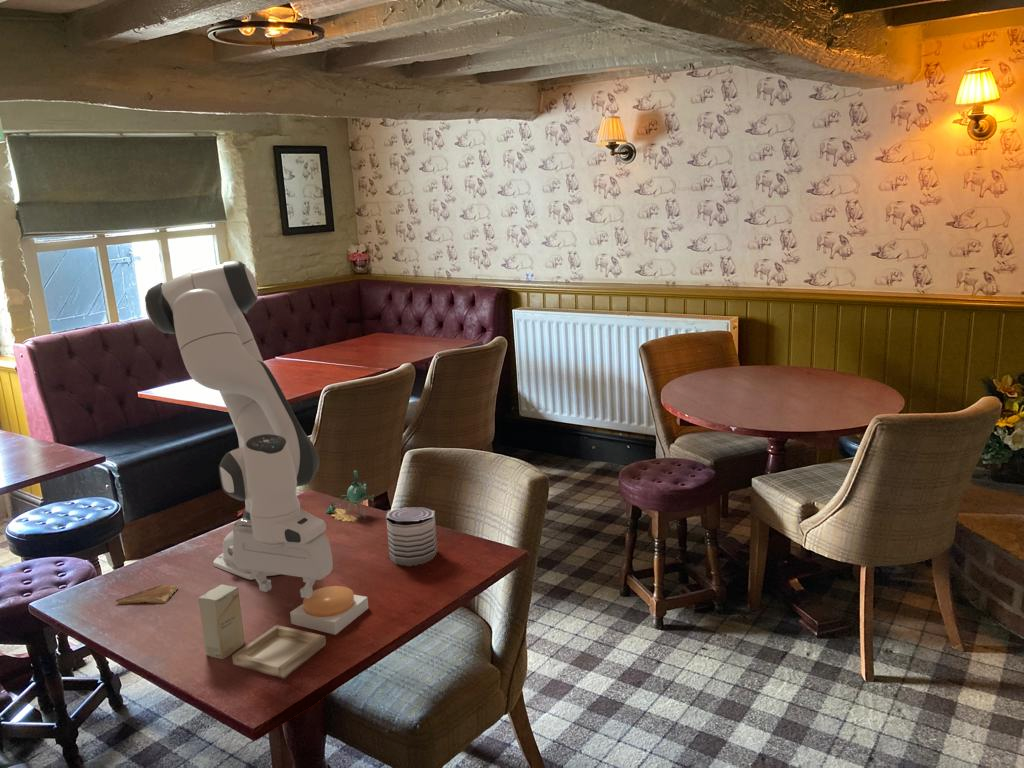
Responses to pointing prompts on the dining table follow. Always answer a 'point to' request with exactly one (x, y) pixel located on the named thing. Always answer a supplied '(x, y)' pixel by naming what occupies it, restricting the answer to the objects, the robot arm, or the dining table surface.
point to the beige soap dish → (279, 651)
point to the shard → (150, 595)
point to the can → (411, 535)
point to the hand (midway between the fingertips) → (286, 593)
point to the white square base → (329, 617)
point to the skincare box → (221, 621)
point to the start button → (329, 601)
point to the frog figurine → (354, 495)
